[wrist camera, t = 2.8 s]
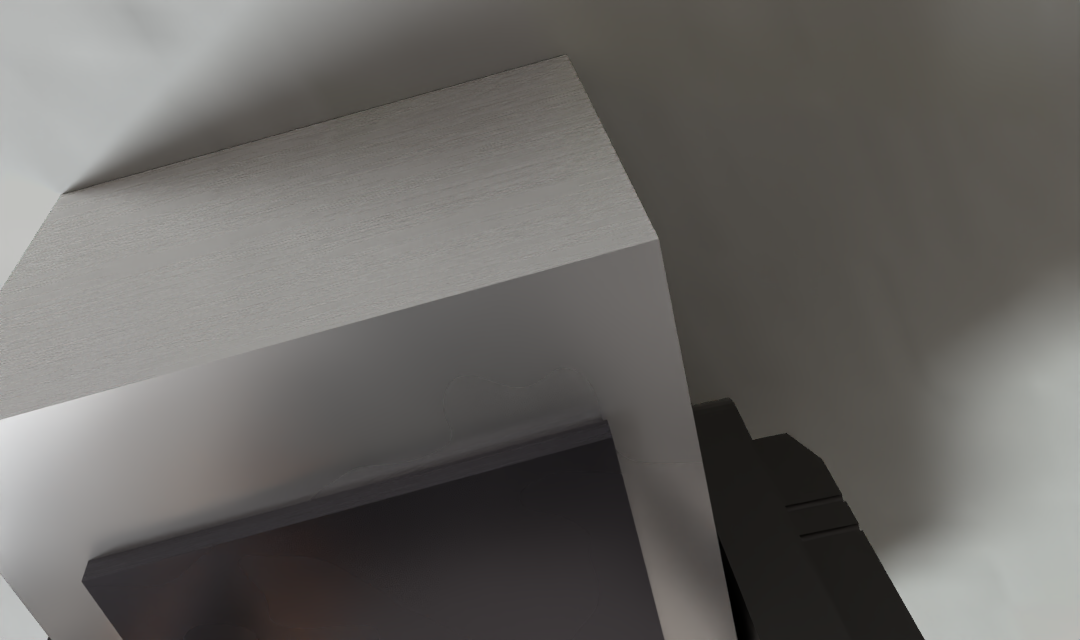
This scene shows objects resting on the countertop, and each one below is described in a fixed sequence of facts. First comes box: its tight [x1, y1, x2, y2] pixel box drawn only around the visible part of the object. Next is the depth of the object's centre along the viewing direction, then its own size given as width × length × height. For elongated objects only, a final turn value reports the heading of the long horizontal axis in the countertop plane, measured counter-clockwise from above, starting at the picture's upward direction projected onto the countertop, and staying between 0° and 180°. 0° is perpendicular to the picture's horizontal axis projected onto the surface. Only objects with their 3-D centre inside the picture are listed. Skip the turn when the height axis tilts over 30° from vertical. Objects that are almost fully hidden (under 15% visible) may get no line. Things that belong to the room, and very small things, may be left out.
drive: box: [0, 54, 737, 640], centre depth 10 cm, size 9×5×4 cm, turn 13°
